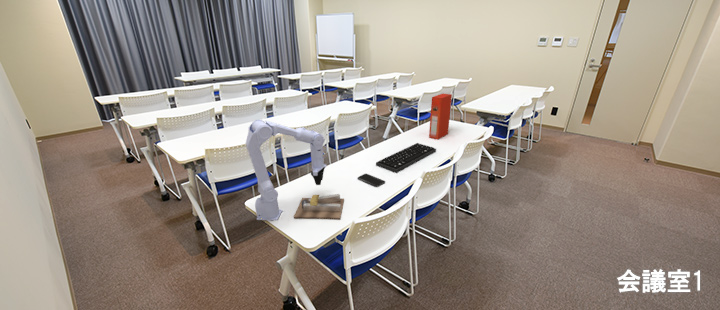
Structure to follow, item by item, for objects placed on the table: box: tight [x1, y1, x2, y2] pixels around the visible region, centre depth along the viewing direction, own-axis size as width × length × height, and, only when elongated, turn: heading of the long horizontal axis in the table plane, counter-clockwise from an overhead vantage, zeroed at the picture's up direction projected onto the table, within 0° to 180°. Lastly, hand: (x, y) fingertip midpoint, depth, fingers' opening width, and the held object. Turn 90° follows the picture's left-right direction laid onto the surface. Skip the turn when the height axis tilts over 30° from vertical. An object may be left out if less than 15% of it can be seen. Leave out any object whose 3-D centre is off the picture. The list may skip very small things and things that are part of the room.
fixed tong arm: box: [301, 199, 341, 212], centre depth 134 cm, size 18×4×4 cm, turn 87°
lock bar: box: [310, 194, 320, 206], centre depth 133 cm, size 3×6×2 cm, turn 177°
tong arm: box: [308, 193, 341, 204], centre depth 139 cm, size 15×2×3 cm, turn 107°
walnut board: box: [293, 197, 345, 221], centre depth 136 cm, size 21×16×1 cm
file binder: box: [428, 93, 453, 140], centre depth 223 cm, size 8×17×32 cm, turn 139°
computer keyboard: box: [375, 142, 437, 174], centre depth 189 cm, size 45×16×4 cm, turn 136°
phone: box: [357, 173, 386, 188], centre depth 162 cm, size 8×1×15 cm
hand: (319, 182), depth 141 cm, fingers open, 4 cm apart
